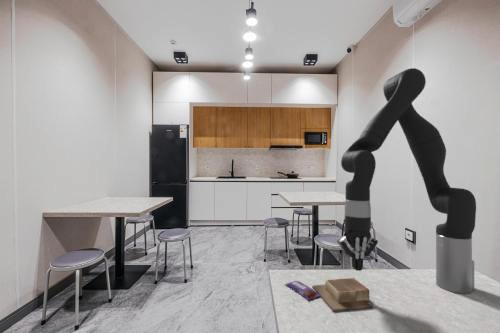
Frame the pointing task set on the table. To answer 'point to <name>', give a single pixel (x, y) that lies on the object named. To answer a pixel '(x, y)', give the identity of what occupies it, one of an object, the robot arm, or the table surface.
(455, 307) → the table surface
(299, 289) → the snack package
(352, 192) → the robot arm
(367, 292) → the wooden block
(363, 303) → the walnut board
